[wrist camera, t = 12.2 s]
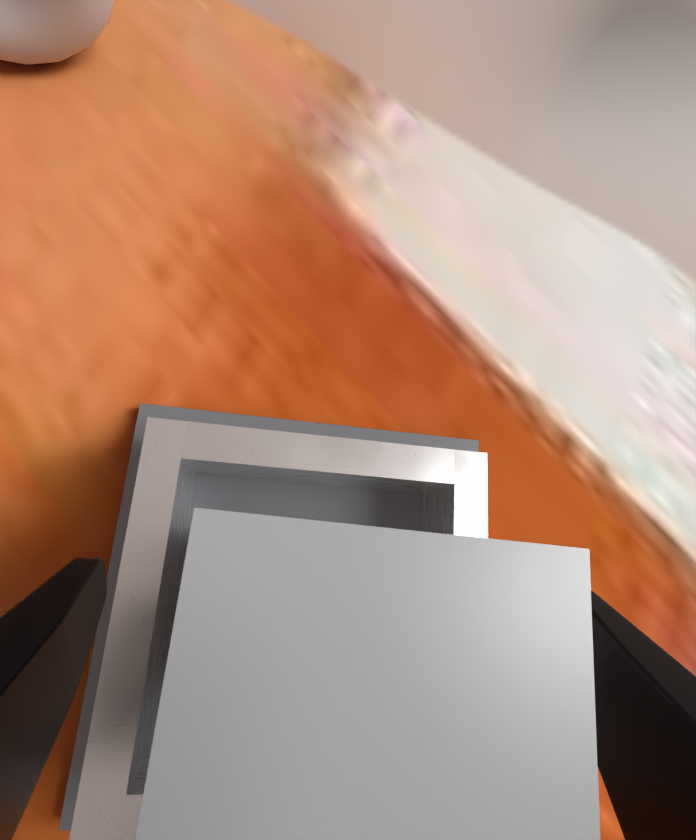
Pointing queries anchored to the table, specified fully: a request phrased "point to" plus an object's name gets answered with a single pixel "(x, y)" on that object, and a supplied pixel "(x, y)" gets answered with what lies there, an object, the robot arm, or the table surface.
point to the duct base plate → (253, 499)
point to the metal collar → (163, 557)
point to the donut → (49, 28)
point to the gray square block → (374, 687)
